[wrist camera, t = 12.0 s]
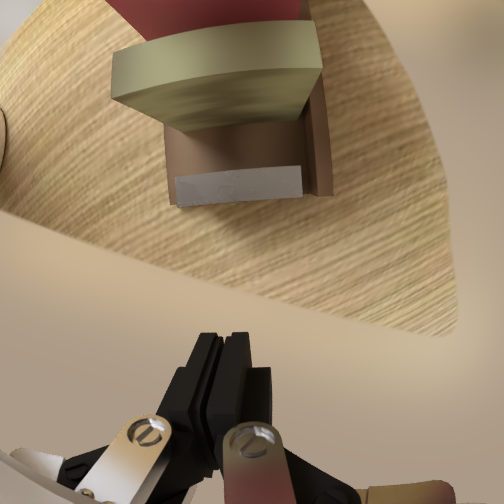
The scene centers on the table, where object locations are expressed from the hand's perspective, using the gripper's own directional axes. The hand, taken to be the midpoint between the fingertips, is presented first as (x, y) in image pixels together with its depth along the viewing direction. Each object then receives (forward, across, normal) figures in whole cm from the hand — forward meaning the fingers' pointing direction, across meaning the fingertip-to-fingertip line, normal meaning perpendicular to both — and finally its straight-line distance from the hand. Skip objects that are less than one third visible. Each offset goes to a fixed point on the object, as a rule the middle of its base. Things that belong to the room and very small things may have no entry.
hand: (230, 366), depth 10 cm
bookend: (+13, 0, -6) cm, 15 cm away
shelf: (+15, 0, -16) cm, 22 cm away
